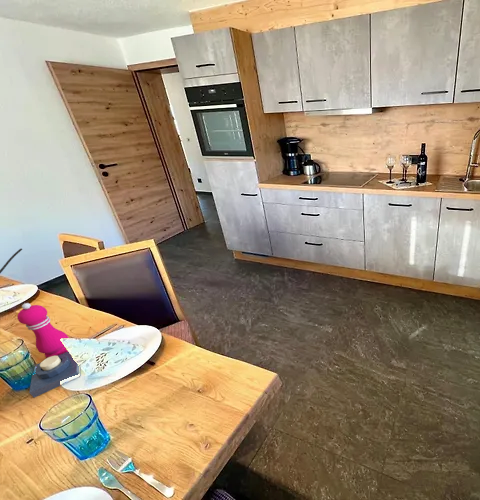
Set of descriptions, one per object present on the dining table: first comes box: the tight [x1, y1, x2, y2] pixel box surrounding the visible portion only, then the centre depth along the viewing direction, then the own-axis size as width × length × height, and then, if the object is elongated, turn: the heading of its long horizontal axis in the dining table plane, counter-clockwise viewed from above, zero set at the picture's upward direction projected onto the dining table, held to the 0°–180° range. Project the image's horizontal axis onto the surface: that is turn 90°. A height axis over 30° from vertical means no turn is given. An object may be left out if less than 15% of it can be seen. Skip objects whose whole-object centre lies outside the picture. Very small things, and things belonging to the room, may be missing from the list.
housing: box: [28, 352, 79, 398], centre depth 85 cm, size 12×10×4 cm
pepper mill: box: [16, 302, 70, 359], centre depth 88 cm, size 7×7×20 cm
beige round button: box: [39, 356, 61, 371], centre depth 83 cm, size 4×4×2 cm
